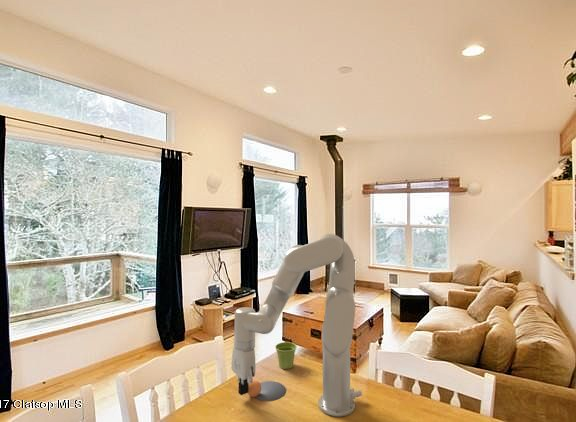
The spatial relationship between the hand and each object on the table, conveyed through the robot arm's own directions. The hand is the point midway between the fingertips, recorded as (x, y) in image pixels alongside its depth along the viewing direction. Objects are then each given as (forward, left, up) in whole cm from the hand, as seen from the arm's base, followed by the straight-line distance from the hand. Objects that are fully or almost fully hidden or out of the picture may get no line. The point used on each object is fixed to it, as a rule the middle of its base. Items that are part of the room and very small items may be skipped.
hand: (243, 392), depth 121 cm
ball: (-4, -1, 0) cm, 4 cm away
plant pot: (-24, -16, -3) cm, 29 cm away
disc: (-10, -1, -2) cm, 11 cm away
